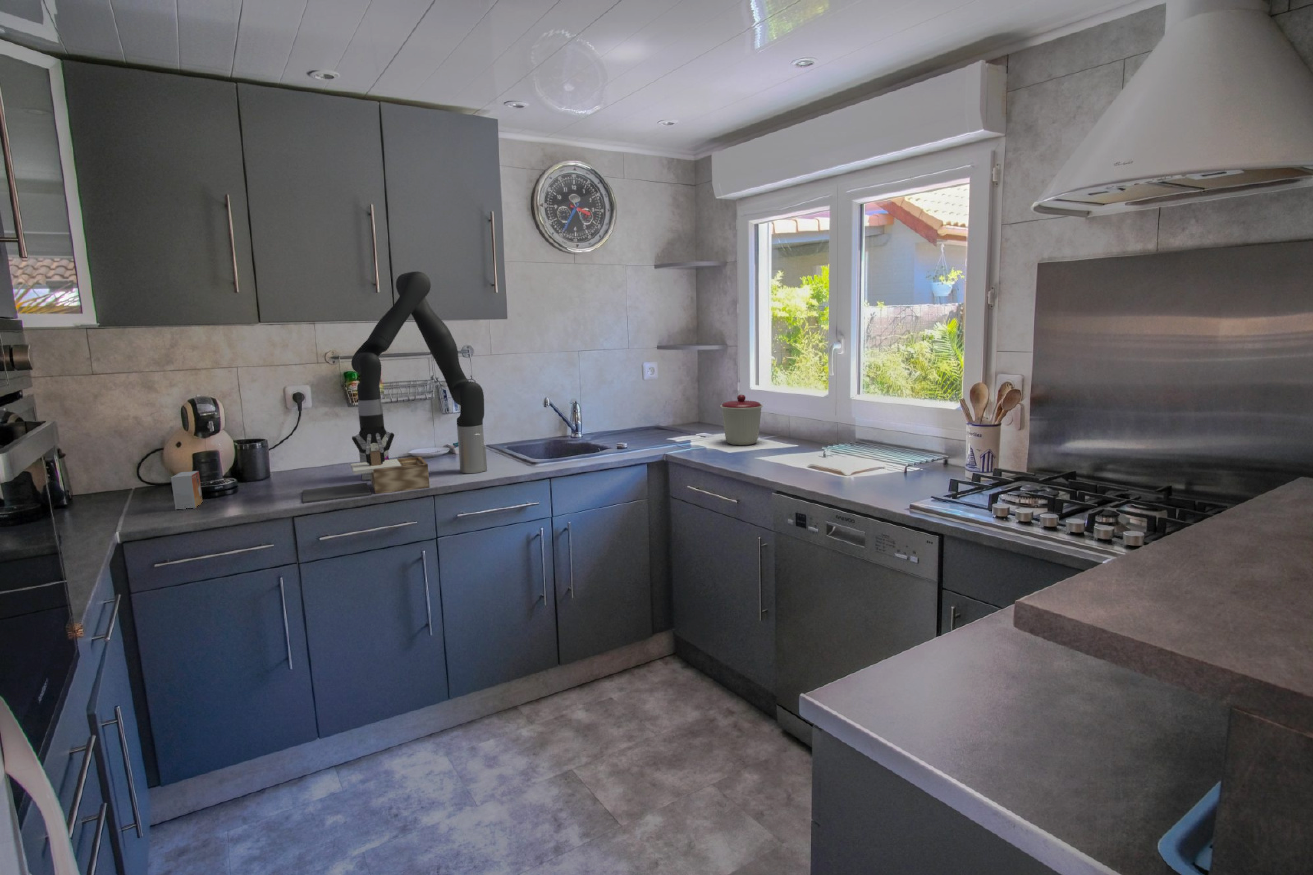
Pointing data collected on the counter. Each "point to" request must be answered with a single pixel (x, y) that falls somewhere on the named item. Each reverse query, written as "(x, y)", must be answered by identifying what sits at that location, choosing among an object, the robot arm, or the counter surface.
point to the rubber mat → (335, 492)
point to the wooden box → (401, 476)
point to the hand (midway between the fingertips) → (375, 463)
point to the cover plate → (370, 468)
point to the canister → (741, 421)
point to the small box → (186, 490)
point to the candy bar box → (372, 448)
